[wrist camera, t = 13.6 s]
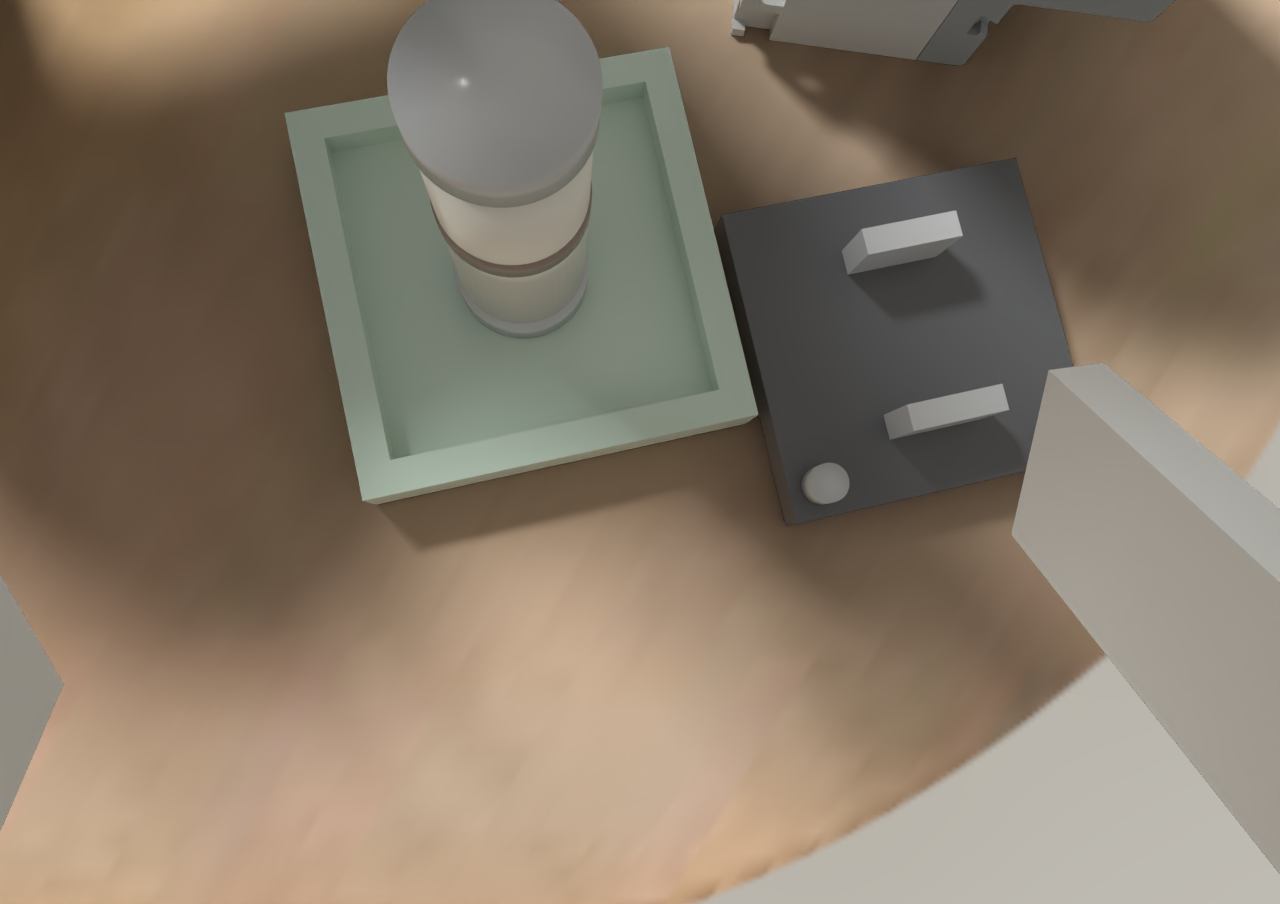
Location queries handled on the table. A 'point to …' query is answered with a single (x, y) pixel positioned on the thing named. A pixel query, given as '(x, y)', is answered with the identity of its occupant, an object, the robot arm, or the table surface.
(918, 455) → the block
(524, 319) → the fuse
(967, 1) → the circuit breaker
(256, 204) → the table surface
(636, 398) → the tray
